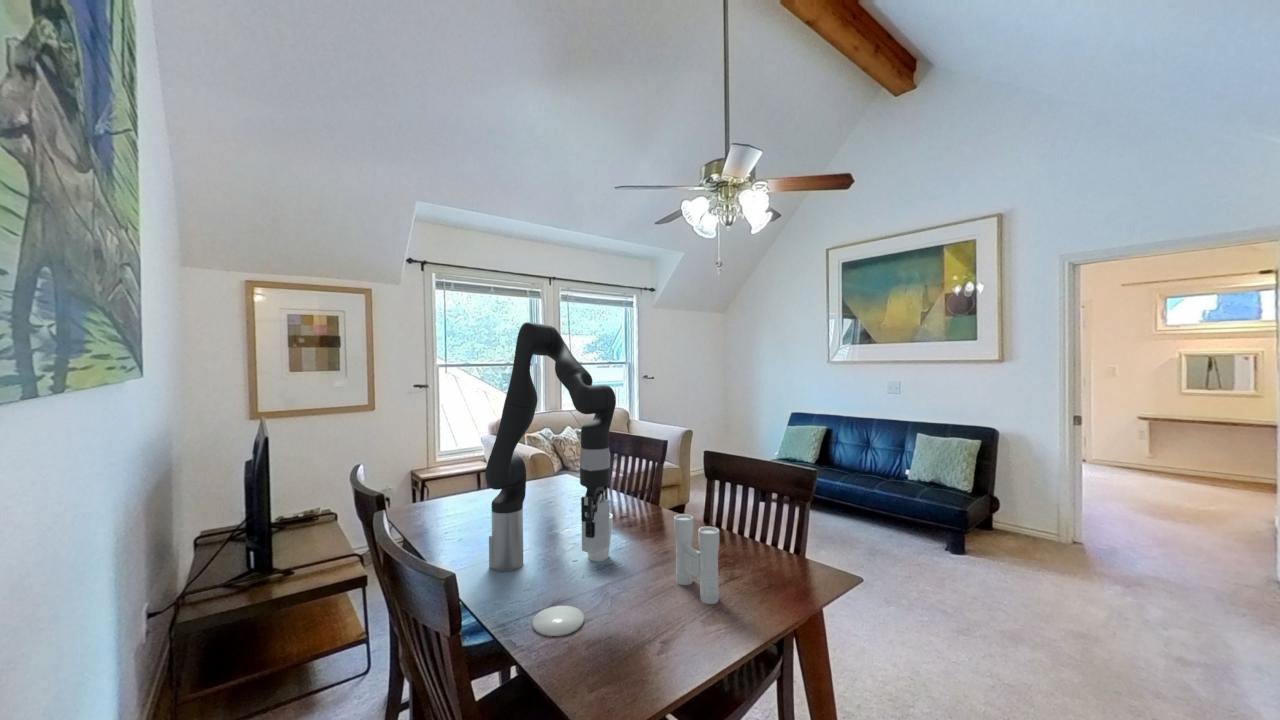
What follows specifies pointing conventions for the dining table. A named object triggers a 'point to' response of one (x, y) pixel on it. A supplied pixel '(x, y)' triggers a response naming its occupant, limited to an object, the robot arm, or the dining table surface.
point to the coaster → (558, 620)
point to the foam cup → (604, 553)
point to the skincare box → (598, 531)
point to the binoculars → (697, 557)
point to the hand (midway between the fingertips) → (595, 531)
